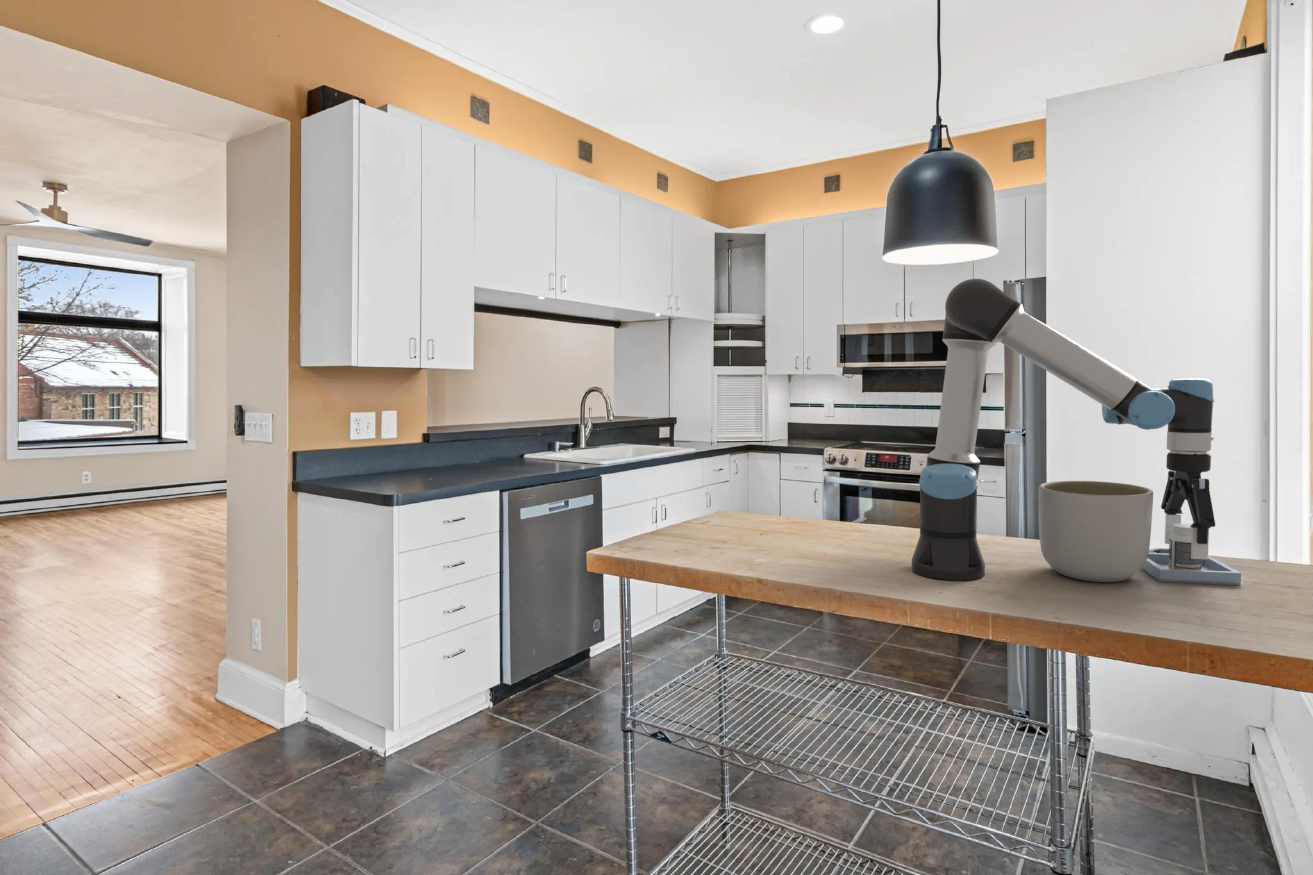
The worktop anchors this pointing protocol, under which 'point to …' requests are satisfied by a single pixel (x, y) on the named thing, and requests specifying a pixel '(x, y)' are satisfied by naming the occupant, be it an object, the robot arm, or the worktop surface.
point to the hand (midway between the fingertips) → (1185, 551)
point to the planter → (1095, 528)
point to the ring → (1159, 550)
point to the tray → (1191, 571)
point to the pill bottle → (1182, 549)
